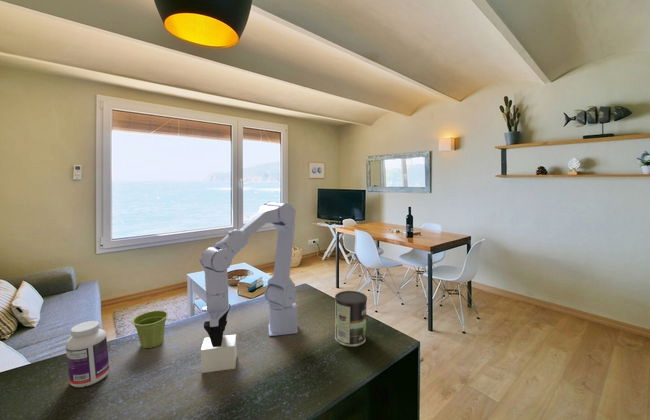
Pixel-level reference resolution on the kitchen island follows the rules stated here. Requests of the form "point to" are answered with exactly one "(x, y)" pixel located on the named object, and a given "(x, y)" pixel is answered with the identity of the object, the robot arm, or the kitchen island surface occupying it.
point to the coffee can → (350, 318)
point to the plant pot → (150, 328)
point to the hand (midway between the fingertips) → (219, 338)
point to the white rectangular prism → (219, 354)
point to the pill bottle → (87, 354)
